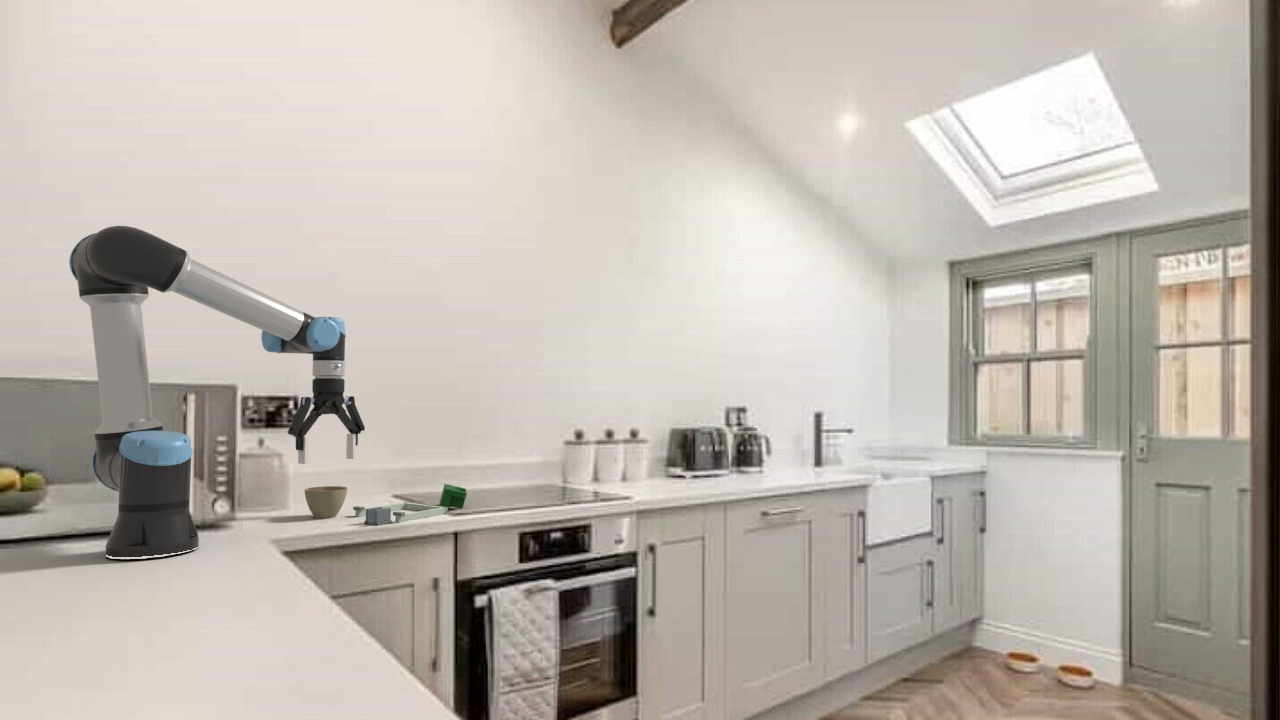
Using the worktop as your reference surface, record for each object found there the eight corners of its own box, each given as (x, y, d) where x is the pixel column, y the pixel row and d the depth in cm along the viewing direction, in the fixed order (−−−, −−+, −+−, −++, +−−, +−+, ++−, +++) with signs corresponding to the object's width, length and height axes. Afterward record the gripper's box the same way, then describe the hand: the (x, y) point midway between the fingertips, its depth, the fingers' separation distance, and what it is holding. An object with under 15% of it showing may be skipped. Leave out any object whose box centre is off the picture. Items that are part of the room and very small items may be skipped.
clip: (378, 525, 168) (378, 510, 169) (364, 523, 171) (364, 508, 171) (391, 523, 172) (392, 508, 172) (378, 521, 175) (378, 506, 175)
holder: (401, 522, 172) (401, 513, 172) (353, 515, 182) (353, 506, 182) (450, 513, 186) (450, 504, 186) (403, 507, 195) (403, 499, 195)
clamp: (458, 525, 193) (466, 496, 190) (436, 521, 191) (444, 492, 189) (461, 502, 204) (469, 475, 201) (440, 497, 202) (448, 470, 200)
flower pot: (316, 521, 174) (317, 492, 174) (296, 517, 180) (296, 488, 180) (354, 516, 182) (355, 487, 182) (333, 512, 188) (334, 484, 188)
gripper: (291, 377, 170) (290, 466, 169) (379, 378, 191) (378, 457, 190) (273, 377, 174) (271, 464, 173) (361, 378, 195) (360, 456, 194)
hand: (327, 461), depth 181 cm, fingers open, 13 cm apart
